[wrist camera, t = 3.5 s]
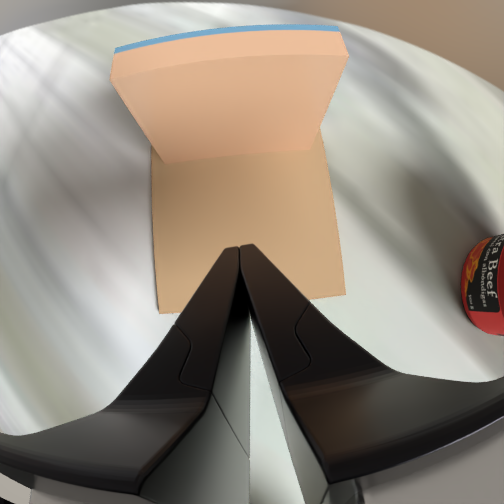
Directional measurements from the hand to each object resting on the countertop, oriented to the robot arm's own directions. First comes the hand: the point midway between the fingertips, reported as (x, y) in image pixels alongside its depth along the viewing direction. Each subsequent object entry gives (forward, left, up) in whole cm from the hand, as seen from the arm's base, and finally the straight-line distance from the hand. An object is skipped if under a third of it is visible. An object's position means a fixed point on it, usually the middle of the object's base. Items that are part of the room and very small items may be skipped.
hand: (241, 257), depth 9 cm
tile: (+4, -8, -11) cm, 14 cm away
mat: (+2, -4, -11) cm, 12 cm away
